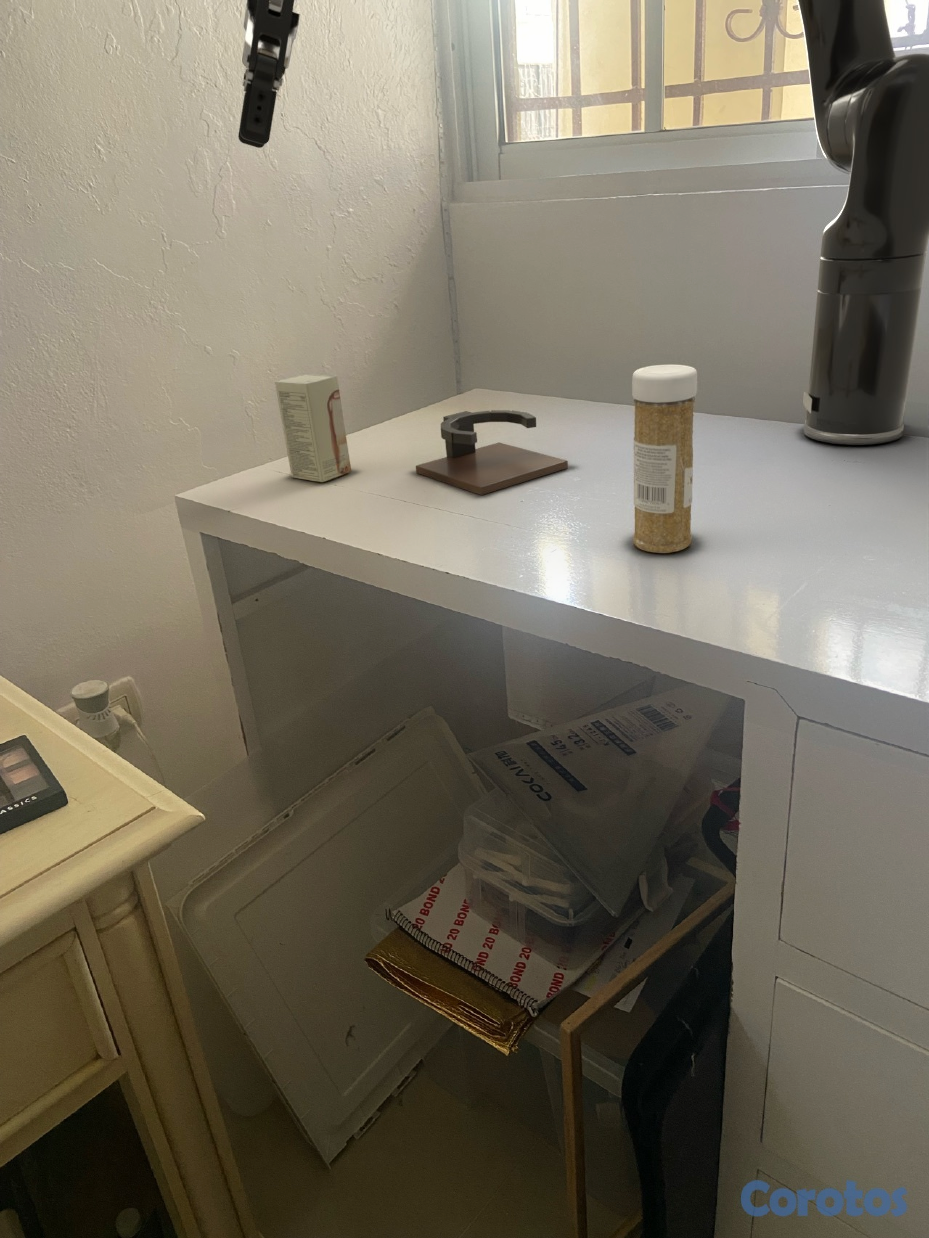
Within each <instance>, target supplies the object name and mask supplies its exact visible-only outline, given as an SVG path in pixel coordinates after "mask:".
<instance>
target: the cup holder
mask: <svg viewBox="0 0 929 1238" xmlns="http://www.w3.org/2000/svg"><path fill="white" fill-rule="evenodd" d="M442 419H443V421H441V422H440V438H441V439H442V440H444V443H445V455H446V456H445V457H442V458H437V459H434V460H431V461H427V462H425V463H420V464H417V465H415V473H416V474H419V475H422V476H424V477H427V478H430V479H433V480H436V481H439V482H442V483H445V484H448V485H451V486H454V487H456V488H460V489H461V490H462V489H463V490H465V491H468V492H471V493H474V494H476V495H479V496H483V495H486V494H490V493H493V492H496V491H499V490H502V489H505V488H509V487H512V486H515V485H518V484H521V483H524V482H527V481H531V480H534V479H537V478H540V477H545V476H547V475H550V474H553V473H556V472H559V471H563V470H565V469H568V468H569V460H567V459H563V458H559V457H555V456H551V455H548V454H544V453H540V452H537V451H533V450H529V449H525V448H523V447H519V446H515V445H511V444H508V443H507V444H506V443H503V442H495V443H491V444H488V445H484V446H480V447H477V448H476V443H478V433H477V431H475V426H474V425H476V424H484V423H511V424H517V425H521V426H523V427H525V428H526V429H532V428H537V417H536V416H534V415H533V414H531V413H529V412H526V411H525V412H524V411H519V410H514V409H513V410H510V409H507V410H506V409H505V410H504V409H503V410H499V409H498V410H496V409H494V410H482V411H481V410H480V411H474V412H473V411H469V410H464V411H461V412H457V413H452V414H449V415H445V416H442Z"/></svg>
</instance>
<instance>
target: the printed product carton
mask: <svg viewBox="0 0 929 1238" xmlns="http://www.w3.org/2000/svg"><path fill="white" fill-rule="evenodd" d="M274 385H275V391H276V396H277V401H278V407H279V413H280V419H281V425H282V430H283V436H284V441H285V446H286V447H285V449H286V453H287V459H288V464H289V469H290V471H289V472H290V476H291V478H295V479H299V480H307V481H312V482H318V483H319V482H320V483H324V482H327V481H331V480H332V479H335V478H338V477H341V476H344V475H346V474H348V473H351V472H352V467H351V466H352V465H351V460H350V459H351V458H350V453H349V446H348V439H347V433H346V425H345V419H344V412H343V406H342V400H341V399H342V398H341V393H340V386H339V379H338V375H336V374H335V375H332V374H331V375H330V374H318V373H317V374H316V373H304V374H300V375H295V376H292V377H288V378H283V379H281V380H275V381H274Z"/></svg>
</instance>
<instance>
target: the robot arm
mask: <svg viewBox="0 0 929 1238" xmlns="http://www.w3.org/2000/svg"><path fill="white" fill-rule="evenodd" d="M796 2H797V5H798V6H797V7H798V10H799V15H800V20H801V23H802V24H801V25H802V29H803V30H802V31H803V36H804V42H805V49H806V50H805V51H806V57H807V66H808V75H809V83H810V91H811V92H810V93H811V99H812V100H811V102H812V111H813V118H814V124H815V131H816V136H817V140H818V143H819V147H820V149H821V151H822V154H823V156H824V157H825V159H826V160H827V161H828V163H829V164H830V165H831V166H832V167H833V168H835V169H836V170H837V171H838V172H839V171H840V172H841V173H843V174H846V175H849V182H848V188H847V194H846V199H845V202H844V204H843V207H842V209H841V211H840V212H839V214H838V215H837V216H836V217H835V218H834V219H832V220H831V221H830V222H829V223H828V224H827V225H826V226H825V227H824V230H823V233H822V238H821V246H820V258H819V259H820V260H819V269H818V279H817V291H816V292H817V293H816V303H815V316H814V324H813V325H814V328H813V337H812V349H811V360H810V369H809V370H810V373H809V382H808V393H807V392H806V391H805V390H803V399H802V405H803V407H804V408H805V409H806V415H805V416H806V417H805V420H804V424H803V425H804V426H803V434H804V435H805V436H806V437H808V438H810V439H812V440H815V441H819V442H823V443H827V444H836V445H848V446H849V445H850V446H867V445H877V444H878V445H879V444H885V443H890V442H894V441H896V440H898V439H900V438H902V436H903V435H904V427H905V422H904V421H905V420H904V419H905V412H906V406H907V405H906V404H907V398H908V392H909V385H910V384H909V383H910V376H911V370H912V369H911V368H912V362H913V356H914V355H913V354H914V347H915V340H916V338H915V337H916V331H917V324H918V316H919V309H920V301H921V296H922V295H921V294H922V289H923V288H922V285H923V280H924V279H923V278H924V271H925V264H926V256H927V252H928V243H929V53H909V54H904V55H903V54H902V55H899V56H896V54H895V53H896V52H895V50H894V46H893V42H892V38H891V32H890V28H889V23H888V18H887V17H888V16H887V11H886V6H885V0H796ZM294 5H295V0H246V4H245V12H244V20H243V29H244V31H245V36H244V42H243V50H242V56H241V62H242V63H241V64H242V65H243V66H244V67H245V71H244V74H243V80H242V81H243V82H242V87H243V92H244V94H243V95H244V96H243V102H242V107H241V108H242V109H241V115H240V122H239V129H238V134H237V137H238V140H239V142H240V143H241V144H244V145H247V146H250V147H254V148H257V149H262V148H263V147H264V146H265V145H266V144H268V143H269V141H270V138H271V130H272V125H273V119H274V112H275V107H276V101H277V94H278V92H279V91H280V87H282V86H283V80H284V79H283V77H284V75H285V74H286V70H287V69H289V65H290V61H291V56H292V51H293V45H294V42H295V40H296V38H297V33H298V29H299V24H300V17H301V14H300V13H297V12H294Z"/></svg>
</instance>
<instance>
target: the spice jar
mask: <svg viewBox="0 0 929 1238" xmlns="http://www.w3.org/2000/svg"><path fill="white" fill-rule="evenodd" d="M631 381H632V383H631V395H632V398H633V404H634V428H633V429H634V432H633V433H634V436H633V505H634V534H633V539H632V542H633V544H634V546H635V547H637V548H638V549H640V550H642V551H644V552H647V553H654V554H655V553H657V554H670V553H674V552H675V553H676V552H680V551H682V550H685V549H686V548H687V547H689V546H690V545H691V544H692V541H693V537H692V536H693V535H692V533H691V532H692V531H691V529H692V523H691V522H692V503H693V485H694V484H693V482H694V481H693V480H694V478H693V477H694V475H693V474H694V473H693V472H694V465H693V464H694V449H693V448H694V446H693V440H694V439H693V435H694V403H695V402H696V395H697V393H698V371H697V369H696V368H695V367H693V366H690V365H686V364H685V365H684V364H655V365H649V366H648V365H647V366H643V367H641V368H640V367H639V368H638V369H636V370H635V371H634V372H633V373H632V379H631Z"/></svg>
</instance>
